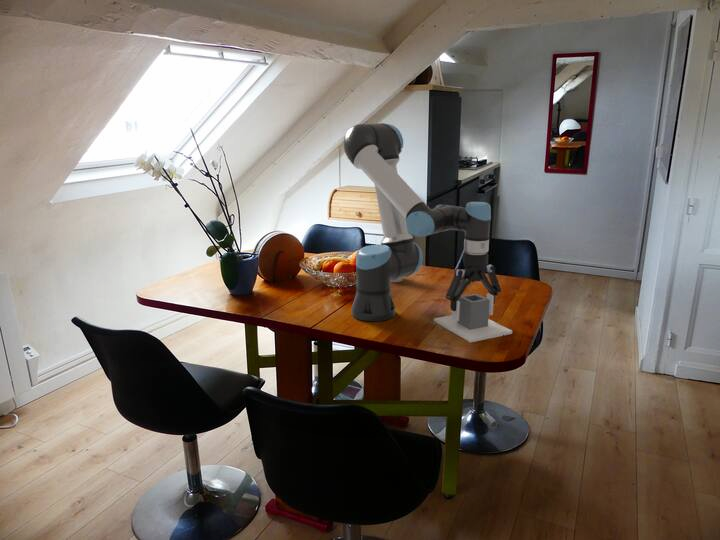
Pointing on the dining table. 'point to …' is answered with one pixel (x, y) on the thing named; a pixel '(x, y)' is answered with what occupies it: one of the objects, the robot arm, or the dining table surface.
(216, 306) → the dining table surface
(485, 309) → the block
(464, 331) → the base plate
